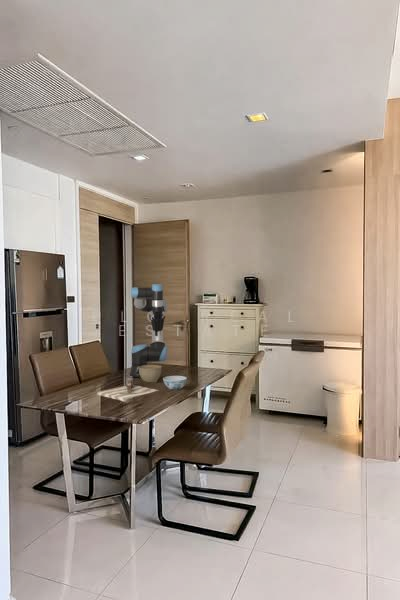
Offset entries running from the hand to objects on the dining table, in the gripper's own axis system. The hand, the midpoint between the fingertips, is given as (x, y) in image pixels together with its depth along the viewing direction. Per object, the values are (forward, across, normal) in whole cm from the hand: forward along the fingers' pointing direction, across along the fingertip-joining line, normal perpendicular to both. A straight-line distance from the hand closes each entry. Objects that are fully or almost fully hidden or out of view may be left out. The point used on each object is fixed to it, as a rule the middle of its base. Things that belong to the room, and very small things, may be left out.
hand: (157, 340), depth 284 cm
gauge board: (+29, -33, -8) cm, 45 cm away
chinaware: (+29, -9, -24) cm, 39 cm away
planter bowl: (+30, -2, +6) cm, 30 cm away
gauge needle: (+27, -30, -5) cm, 41 cm away
